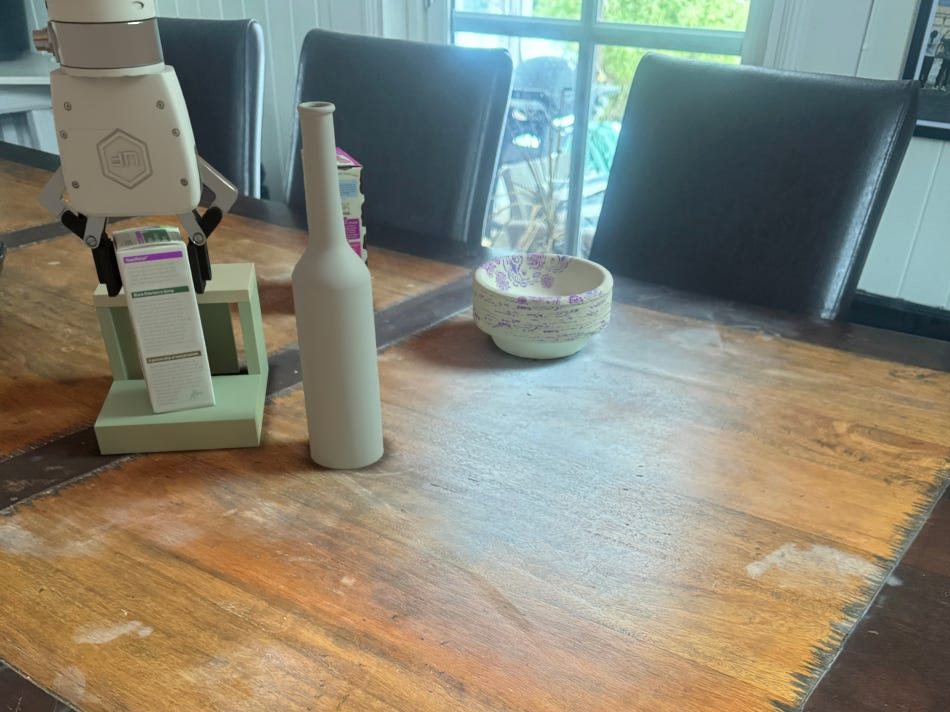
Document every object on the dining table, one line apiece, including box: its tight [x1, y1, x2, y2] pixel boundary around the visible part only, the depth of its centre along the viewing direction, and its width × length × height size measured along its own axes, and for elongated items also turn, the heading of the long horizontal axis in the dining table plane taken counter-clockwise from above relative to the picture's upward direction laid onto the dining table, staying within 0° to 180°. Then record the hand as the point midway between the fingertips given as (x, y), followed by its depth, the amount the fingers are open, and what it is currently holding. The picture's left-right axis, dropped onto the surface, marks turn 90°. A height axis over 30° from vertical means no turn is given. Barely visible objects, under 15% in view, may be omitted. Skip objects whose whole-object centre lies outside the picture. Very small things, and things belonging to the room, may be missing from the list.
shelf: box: [92, 262, 270, 455], centre depth 89 cm, size 14×18×11 cm
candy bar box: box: [300, 146, 369, 269], centre depth 112 cm, size 11×5×16 cm, turn 21°
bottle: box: [290, 101, 385, 470], centre depth 77 cm, size 7×7×28 cm
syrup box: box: [111, 225, 215, 413], centre depth 83 cm, size 6×6×14 cm
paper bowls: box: [472, 252, 614, 360], centre depth 104 cm, size 15×15×8 cm
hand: (158, 288), depth 81 cm, fingers closed on syrup box, 6 cm apart
